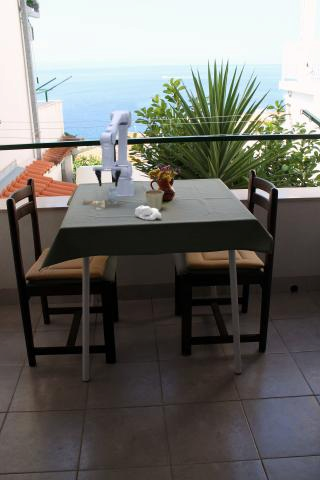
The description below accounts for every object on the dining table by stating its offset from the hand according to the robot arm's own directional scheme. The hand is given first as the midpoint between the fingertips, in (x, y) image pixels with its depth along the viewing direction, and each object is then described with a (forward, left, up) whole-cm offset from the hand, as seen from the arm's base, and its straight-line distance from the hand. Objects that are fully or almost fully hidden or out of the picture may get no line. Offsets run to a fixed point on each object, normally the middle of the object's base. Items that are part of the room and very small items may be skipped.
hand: (108, 186), depth 241 cm
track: (+5, -10, -11) cm, 15 cm away
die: (+4, +1, -11) cm, 12 cm away
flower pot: (-22, +6, -11) cm, 25 cm away
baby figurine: (-18, +19, -11) cm, 28 cm away
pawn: (-2, -10, -11) cm, 14 cm away
